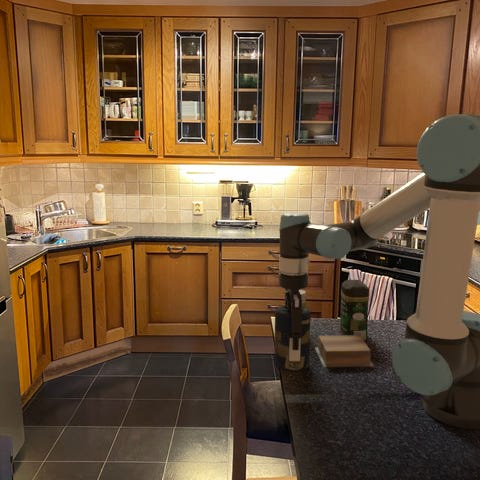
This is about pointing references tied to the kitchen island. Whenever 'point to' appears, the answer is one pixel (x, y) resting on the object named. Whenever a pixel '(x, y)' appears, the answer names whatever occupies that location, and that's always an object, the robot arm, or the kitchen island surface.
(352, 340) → the base block
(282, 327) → the canister
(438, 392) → the robot arm
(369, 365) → the board
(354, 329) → the coffee jar
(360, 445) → the kitchen island surface
